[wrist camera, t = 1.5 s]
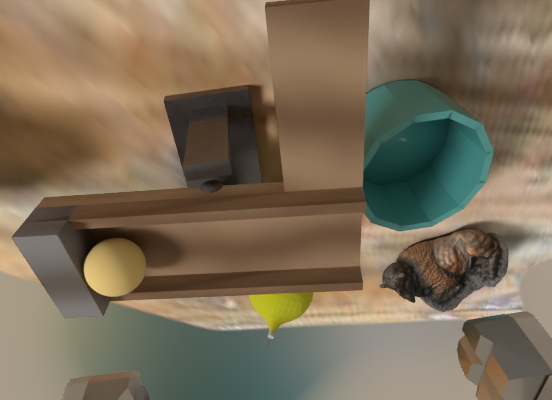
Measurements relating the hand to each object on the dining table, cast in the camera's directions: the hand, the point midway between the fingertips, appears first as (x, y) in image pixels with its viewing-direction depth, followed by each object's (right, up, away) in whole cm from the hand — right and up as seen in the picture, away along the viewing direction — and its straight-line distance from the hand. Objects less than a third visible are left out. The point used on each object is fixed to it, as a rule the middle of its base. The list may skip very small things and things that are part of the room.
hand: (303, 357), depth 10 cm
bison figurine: (+18, -1, +38) cm, 42 cm away
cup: (+10, +10, +28) cm, 32 cm away
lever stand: (-6, +7, +28) cm, 29 cm away
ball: (-12, -1, +18) cm, 21 cm away
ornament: (-1, -4, +37) cm, 37 cm away
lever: (-6, +6, +17) cm, 19 cm away
